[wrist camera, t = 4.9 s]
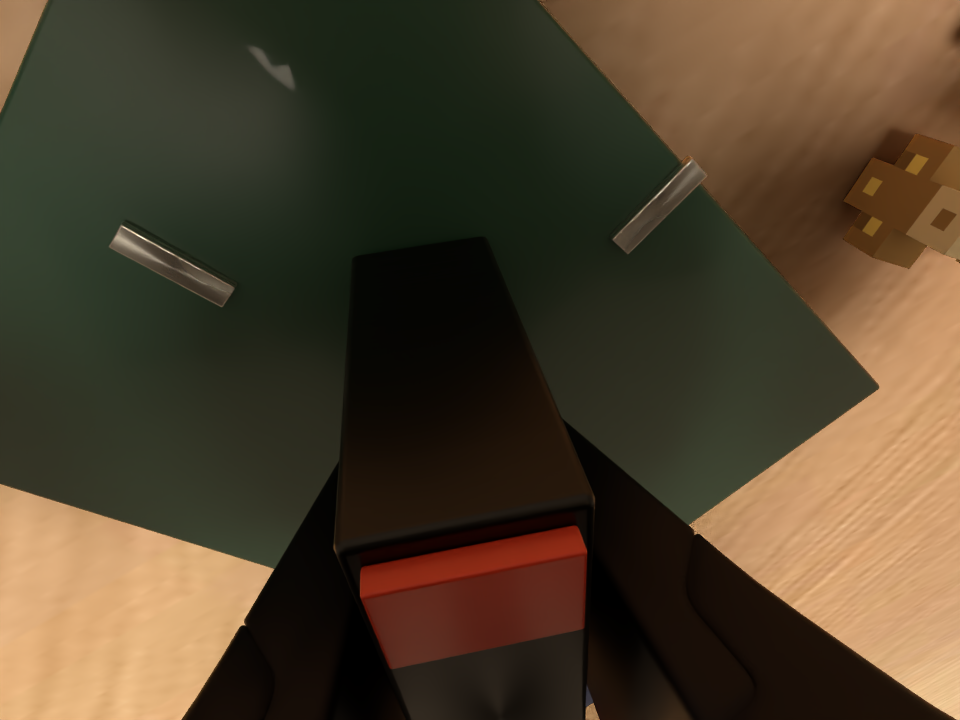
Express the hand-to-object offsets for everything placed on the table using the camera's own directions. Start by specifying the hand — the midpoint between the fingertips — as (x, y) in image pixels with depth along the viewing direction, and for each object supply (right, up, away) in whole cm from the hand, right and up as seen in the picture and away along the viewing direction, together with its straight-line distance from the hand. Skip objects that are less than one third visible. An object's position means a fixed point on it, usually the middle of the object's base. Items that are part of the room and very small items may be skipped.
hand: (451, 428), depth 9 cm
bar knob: (0, 0, 0) cm, 0 cm away
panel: (-1, +2, +3) cm, 4 cm away
